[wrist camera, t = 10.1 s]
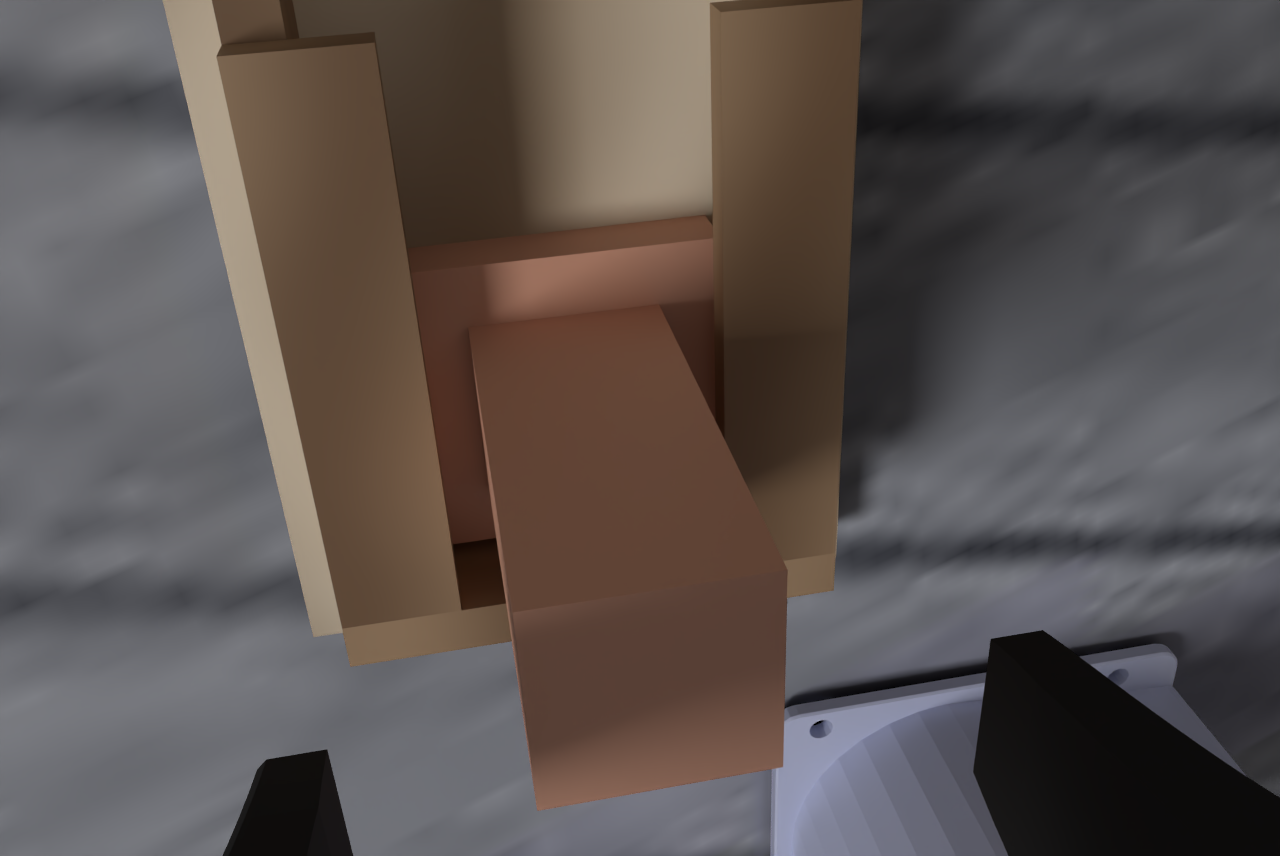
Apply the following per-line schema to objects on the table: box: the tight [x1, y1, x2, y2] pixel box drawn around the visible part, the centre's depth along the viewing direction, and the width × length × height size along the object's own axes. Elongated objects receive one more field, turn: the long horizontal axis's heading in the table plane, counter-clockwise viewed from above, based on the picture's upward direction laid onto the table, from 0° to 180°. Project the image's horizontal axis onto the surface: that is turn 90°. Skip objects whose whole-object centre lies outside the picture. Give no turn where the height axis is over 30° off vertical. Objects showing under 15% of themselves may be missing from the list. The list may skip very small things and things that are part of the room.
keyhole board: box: [163, 0, 863, 667], centre depth 18 cm, size 10×19×3 cm, turn 2°
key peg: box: [408, 215, 788, 811], centre depth 17 cm, size 5×5×8 cm
